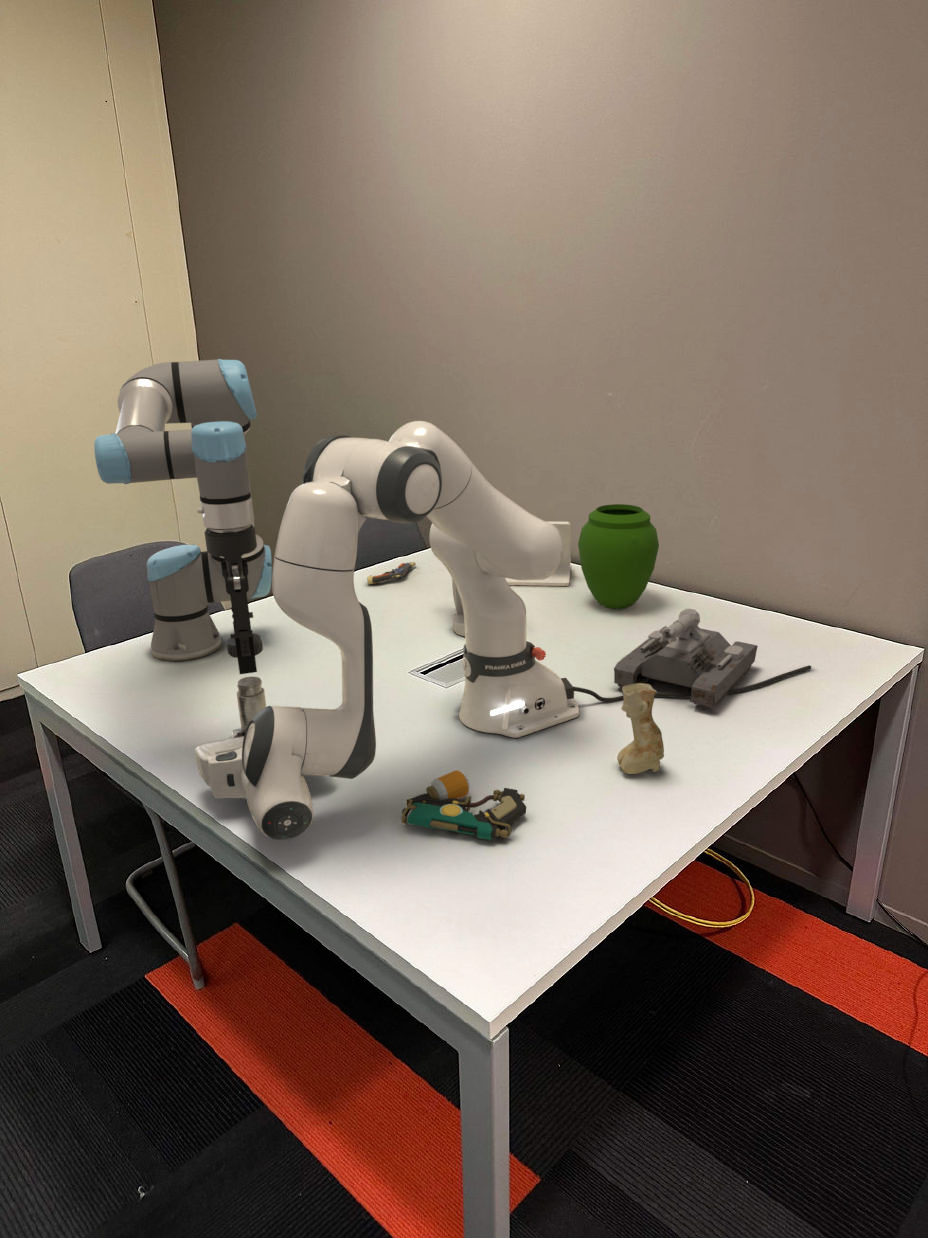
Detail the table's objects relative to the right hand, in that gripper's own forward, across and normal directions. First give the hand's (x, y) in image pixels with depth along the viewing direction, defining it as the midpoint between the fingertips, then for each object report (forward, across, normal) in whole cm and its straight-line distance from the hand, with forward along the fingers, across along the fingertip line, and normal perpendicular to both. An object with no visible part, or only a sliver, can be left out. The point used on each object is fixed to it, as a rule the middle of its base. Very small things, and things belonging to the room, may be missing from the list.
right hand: (254, 729), depth 143 cm
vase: (+42, -95, +6) cm, 104 cm away
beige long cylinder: (-1, 0, +6) cm, 6 cm away
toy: (-2, -85, +6) cm, 85 cm away
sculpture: (-28, -58, +6) cm, 65 cm away
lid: (-1, 0, -16) cm, 16 cm away
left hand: (0, 0, -12) cm, 12 cm away
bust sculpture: (+45, -56, +6) cm, 72 cm away
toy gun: (+90, -51, +6) cm, 104 cm away
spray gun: (-30, -26, +6) cm, 40 cm away
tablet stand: (+74, -85, +6) cm, 113 cm away
